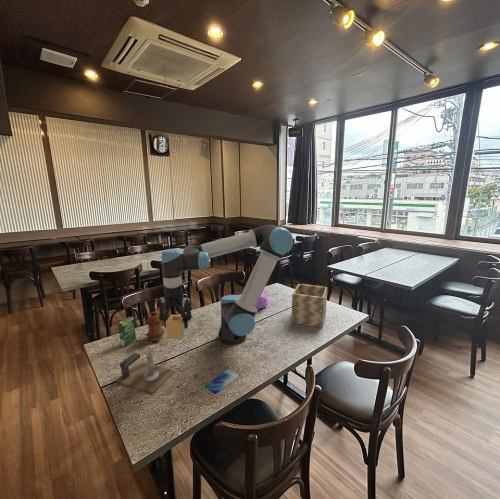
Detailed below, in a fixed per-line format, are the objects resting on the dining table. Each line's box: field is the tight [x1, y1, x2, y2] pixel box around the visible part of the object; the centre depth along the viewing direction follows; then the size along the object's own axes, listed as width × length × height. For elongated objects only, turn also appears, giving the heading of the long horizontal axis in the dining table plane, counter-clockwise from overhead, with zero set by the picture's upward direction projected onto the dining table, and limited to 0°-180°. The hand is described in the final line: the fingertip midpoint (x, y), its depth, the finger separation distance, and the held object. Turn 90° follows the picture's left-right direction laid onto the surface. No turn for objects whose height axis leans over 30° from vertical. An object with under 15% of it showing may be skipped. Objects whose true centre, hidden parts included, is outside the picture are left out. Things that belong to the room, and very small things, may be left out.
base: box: [114, 352, 176, 395], centre depth 113 cm, size 19×14×12 cm
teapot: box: [256, 289, 269, 311], centre depth 182 cm, size 15×13×11 cm
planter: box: [290, 283, 328, 328], centre depth 165 cm, size 18×19×18 cm
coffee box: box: [117, 315, 137, 348], centre depth 139 cm, size 8×3×13 cm, turn 159°
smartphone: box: [203, 368, 241, 396], centre depth 111 cm, size 7×1×15 cm
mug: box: [145, 306, 166, 342], centre depth 145 cm, size 15×8×15 cm, turn 168°
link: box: [165, 314, 190, 340], centre depth 125 cm, size 16×6×8 cm, turn 174°
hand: (176, 334), depth 121 cm, fingers closed on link, 6 cm apart
